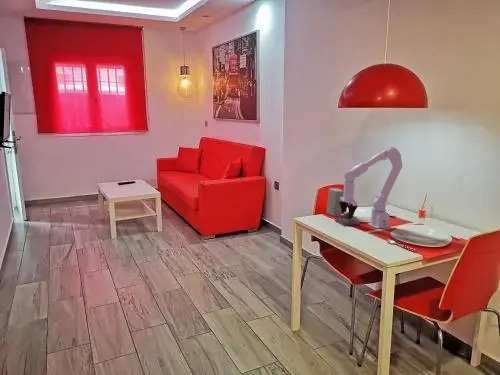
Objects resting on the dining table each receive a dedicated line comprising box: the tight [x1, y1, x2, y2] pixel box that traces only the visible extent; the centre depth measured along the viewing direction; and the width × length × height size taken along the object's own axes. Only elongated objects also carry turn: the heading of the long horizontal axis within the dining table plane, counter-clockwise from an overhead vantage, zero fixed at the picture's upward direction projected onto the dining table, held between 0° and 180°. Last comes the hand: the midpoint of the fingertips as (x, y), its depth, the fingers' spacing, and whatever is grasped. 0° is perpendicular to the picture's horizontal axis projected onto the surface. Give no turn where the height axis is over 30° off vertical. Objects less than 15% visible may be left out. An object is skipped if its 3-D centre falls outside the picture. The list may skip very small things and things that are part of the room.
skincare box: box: [326, 187, 344, 217], centre depth 237 cm, size 8×7×16 cm
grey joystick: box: [334, 214, 361, 227], centre depth 220 cm, size 10×10×4 cm
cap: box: [342, 211, 351, 218], centre depth 219 cm, size 4×4×5 cm
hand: (347, 215), depth 219 cm, fingers open, 7 cm apart
